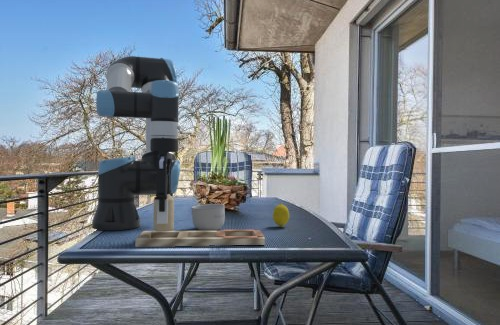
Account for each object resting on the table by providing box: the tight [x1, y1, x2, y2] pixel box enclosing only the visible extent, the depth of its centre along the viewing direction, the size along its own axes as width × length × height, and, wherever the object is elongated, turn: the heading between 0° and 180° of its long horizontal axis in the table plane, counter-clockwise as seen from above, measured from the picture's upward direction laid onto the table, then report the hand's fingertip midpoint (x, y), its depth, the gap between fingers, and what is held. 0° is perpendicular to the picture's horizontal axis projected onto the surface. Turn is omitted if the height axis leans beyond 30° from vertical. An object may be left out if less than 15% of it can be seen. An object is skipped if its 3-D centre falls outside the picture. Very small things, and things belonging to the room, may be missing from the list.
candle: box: [153, 194, 175, 231], centre depth 113 cm, size 6×6×10 cm
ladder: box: [134, 229, 266, 248], centre depth 114 cm, size 34×12×2 cm, turn 95°
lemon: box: [272, 203, 290, 228], centre depth 139 cm, size 6×6×8 cm
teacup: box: [191, 203, 226, 231], centre depth 134 cm, size 14×11×8 cm
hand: (163, 221), depth 113 cm, fingers closed on candle, 5 cm apart
